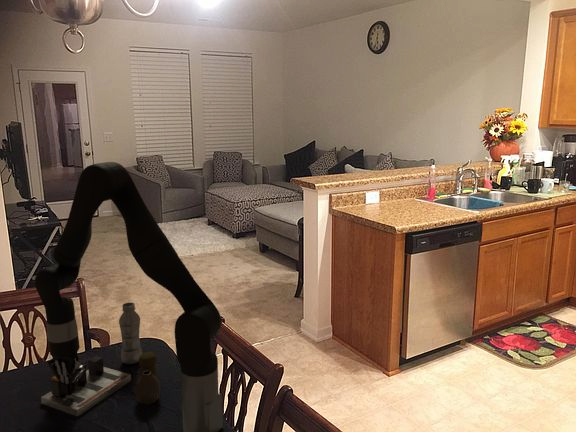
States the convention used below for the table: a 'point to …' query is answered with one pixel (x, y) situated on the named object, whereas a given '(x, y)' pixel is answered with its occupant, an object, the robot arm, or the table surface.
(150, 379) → the vase
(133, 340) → the plastic bottle
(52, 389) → the breaker handle
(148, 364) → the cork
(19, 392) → the table surface
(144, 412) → the table surface
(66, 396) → the breaker panel
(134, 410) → the table surface
